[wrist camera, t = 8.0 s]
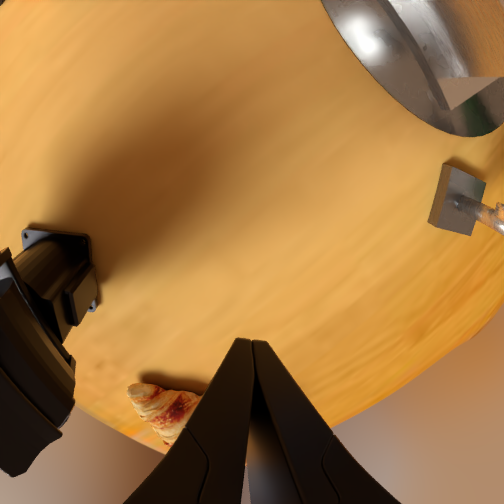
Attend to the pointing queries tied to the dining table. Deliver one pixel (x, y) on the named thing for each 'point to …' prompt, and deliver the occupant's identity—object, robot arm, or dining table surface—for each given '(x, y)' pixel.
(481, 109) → the platter
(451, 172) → the rubber stamp
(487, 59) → the cover
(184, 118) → the dining table surface
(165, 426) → the croissant
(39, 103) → the dining table surface
